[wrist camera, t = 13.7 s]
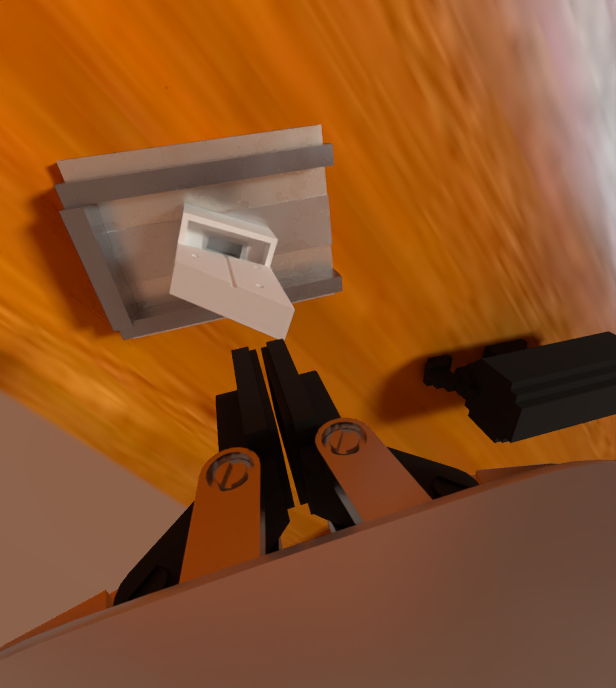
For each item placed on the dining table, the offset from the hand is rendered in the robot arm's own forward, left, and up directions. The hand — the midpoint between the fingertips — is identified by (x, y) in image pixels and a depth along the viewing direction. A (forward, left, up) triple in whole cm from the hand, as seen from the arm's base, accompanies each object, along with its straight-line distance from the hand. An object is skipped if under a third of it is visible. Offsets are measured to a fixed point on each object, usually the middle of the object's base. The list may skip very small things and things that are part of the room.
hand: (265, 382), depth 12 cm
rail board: (+1, 0, -18) cm, 18 cm away
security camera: (-17, -26, -18) cm, 36 cm away
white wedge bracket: (0, 0, -17) cm, 17 cm away
